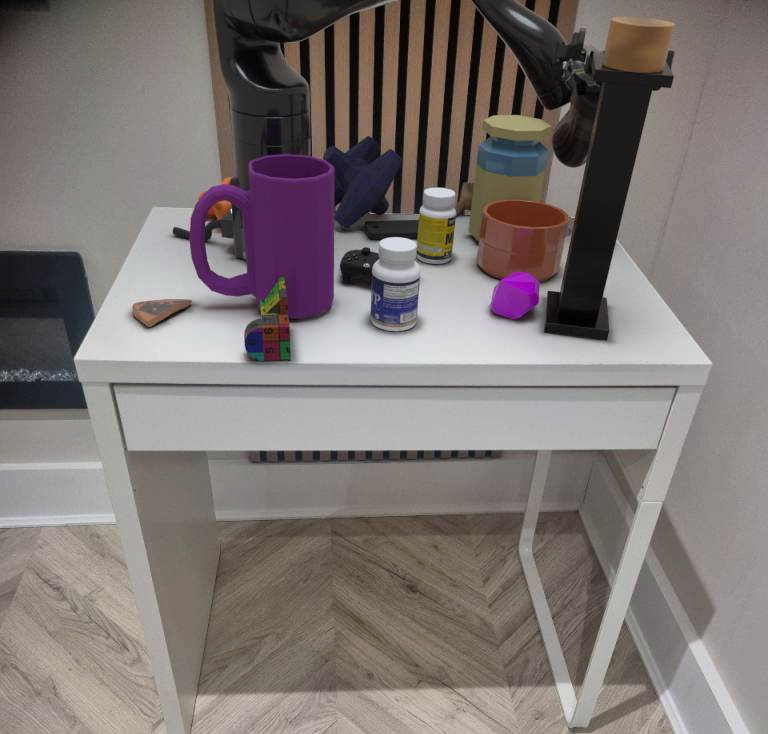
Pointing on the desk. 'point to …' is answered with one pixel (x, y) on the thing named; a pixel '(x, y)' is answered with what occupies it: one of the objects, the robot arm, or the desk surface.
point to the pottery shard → (157, 309)
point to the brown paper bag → (465, 198)
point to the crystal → (515, 295)
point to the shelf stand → (602, 200)
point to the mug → (278, 232)
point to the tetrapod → (361, 180)
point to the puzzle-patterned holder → (270, 328)
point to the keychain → (392, 228)
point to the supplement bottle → (436, 226)
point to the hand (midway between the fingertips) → (619, 39)
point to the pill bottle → (395, 285)
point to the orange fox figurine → (220, 204)
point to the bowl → (521, 238)
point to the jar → (509, 163)
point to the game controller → (358, 264)
